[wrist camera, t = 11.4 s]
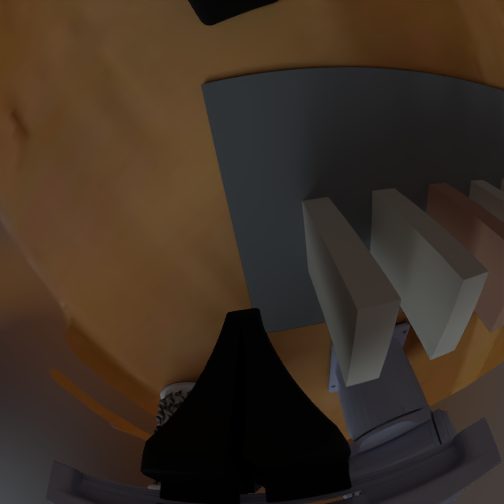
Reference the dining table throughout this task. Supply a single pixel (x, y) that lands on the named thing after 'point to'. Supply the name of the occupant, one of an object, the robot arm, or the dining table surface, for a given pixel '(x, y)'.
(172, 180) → the dining table surface
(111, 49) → the dining table surface
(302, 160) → the mat
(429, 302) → the domino
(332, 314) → the domino
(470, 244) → the domino
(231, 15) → the battery
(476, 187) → the domino
